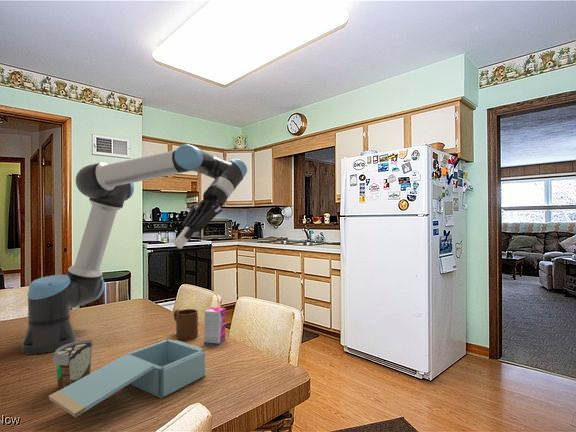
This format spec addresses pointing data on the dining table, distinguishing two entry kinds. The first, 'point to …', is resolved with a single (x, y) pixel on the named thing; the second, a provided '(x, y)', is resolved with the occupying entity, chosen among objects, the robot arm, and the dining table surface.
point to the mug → (186, 324)
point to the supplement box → (214, 325)
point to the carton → (169, 366)
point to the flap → (99, 384)
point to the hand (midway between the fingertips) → (177, 245)
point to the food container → (72, 362)
